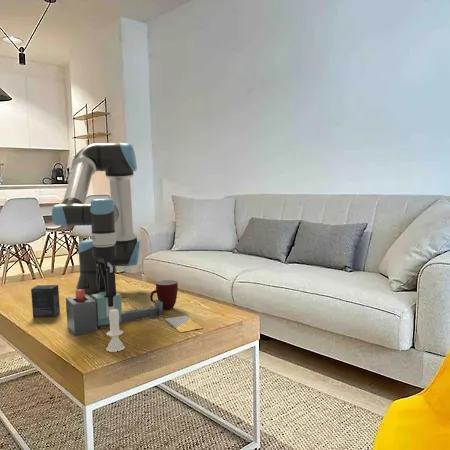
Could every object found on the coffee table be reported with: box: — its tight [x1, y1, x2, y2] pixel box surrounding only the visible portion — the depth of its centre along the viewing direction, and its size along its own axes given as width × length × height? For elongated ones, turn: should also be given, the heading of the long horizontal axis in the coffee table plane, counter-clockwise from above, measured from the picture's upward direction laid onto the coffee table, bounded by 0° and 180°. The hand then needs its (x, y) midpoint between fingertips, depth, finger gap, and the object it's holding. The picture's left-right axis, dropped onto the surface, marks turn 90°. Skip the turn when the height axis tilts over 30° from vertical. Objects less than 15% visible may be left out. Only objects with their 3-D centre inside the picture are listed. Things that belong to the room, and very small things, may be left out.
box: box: [30, 284, 61, 318], centre depth 160 cm, size 8×6×11 cm
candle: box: [105, 309, 126, 353], centre depth 126 cm, size 5×5×12 cm
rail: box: [97, 299, 164, 330], centre depth 152 cm, size 6×24×5 cm, turn 123°
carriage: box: [91, 291, 123, 326], centre depth 148 cm, size 6×8×9 cm
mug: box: [149, 279, 179, 311], centre depth 164 cm, size 10×8×10 cm
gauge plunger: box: [75, 289, 86, 302], centre depth 143 cm, size 3×3×4 cm
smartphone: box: [164, 314, 191, 328], centre depth 147 cm, size 8×1×15 cm
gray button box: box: [65, 294, 98, 336], centre depth 143 cm, size 10×7×10 cm
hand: (107, 313), depth 148 cm, fingers closed on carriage, 6 cm apart
